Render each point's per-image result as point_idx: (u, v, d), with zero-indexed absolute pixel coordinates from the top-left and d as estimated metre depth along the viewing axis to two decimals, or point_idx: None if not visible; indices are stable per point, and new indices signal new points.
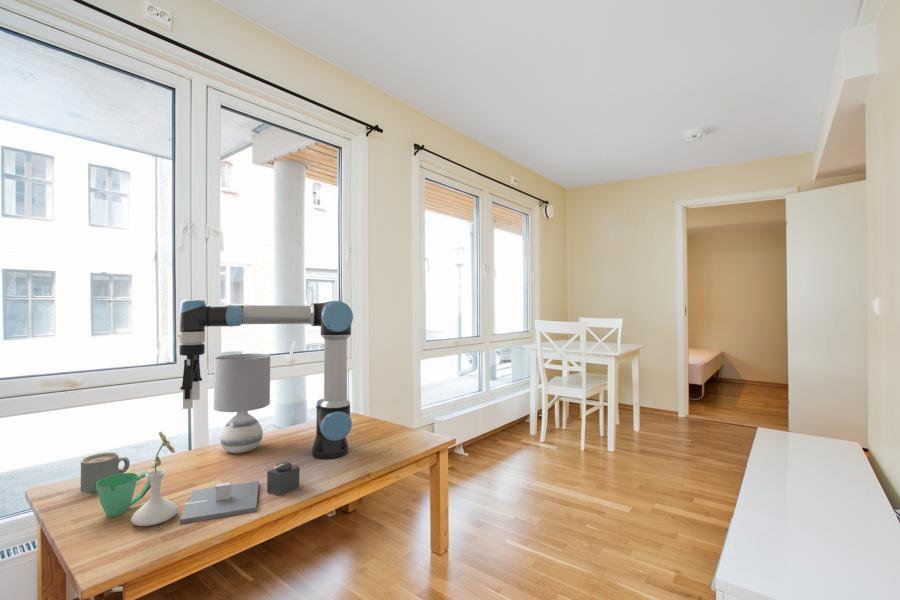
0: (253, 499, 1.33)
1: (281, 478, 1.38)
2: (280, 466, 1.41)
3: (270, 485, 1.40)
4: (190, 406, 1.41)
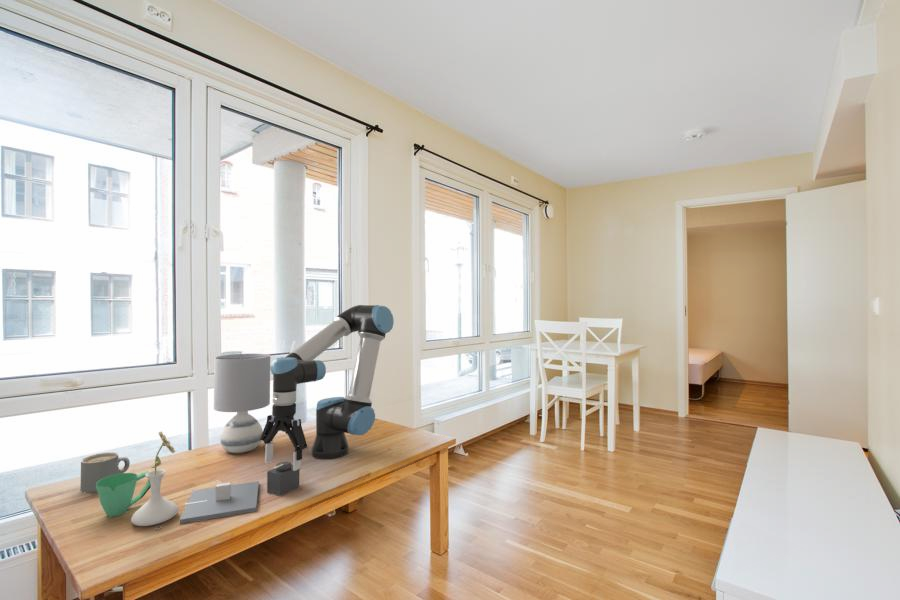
0: (253, 499, 1.33)
1: (281, 478, 1.38)
2: (280, 466, 1.41)
3: (270, 485, 1.40)
4: (299, 466, 1.40)
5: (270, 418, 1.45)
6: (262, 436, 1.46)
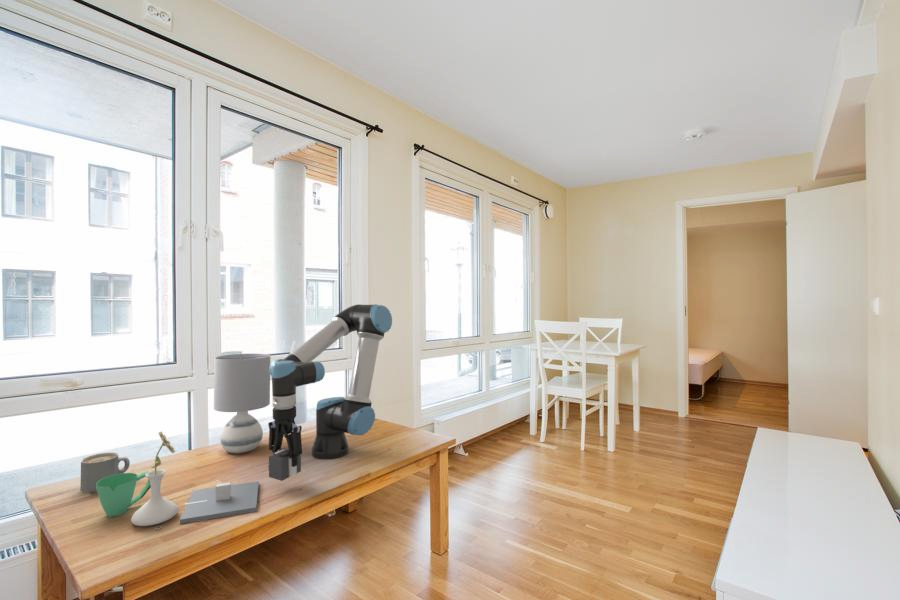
0: (253, 499, 1.33)
1: (282, 463, 1.39)
2: (281, 451, 1.42)
3: (272, 470, 1.41)
4: (295, 472, 1.43)
5: (271, 424, 1.45)
6: (270, 445, 1.45)
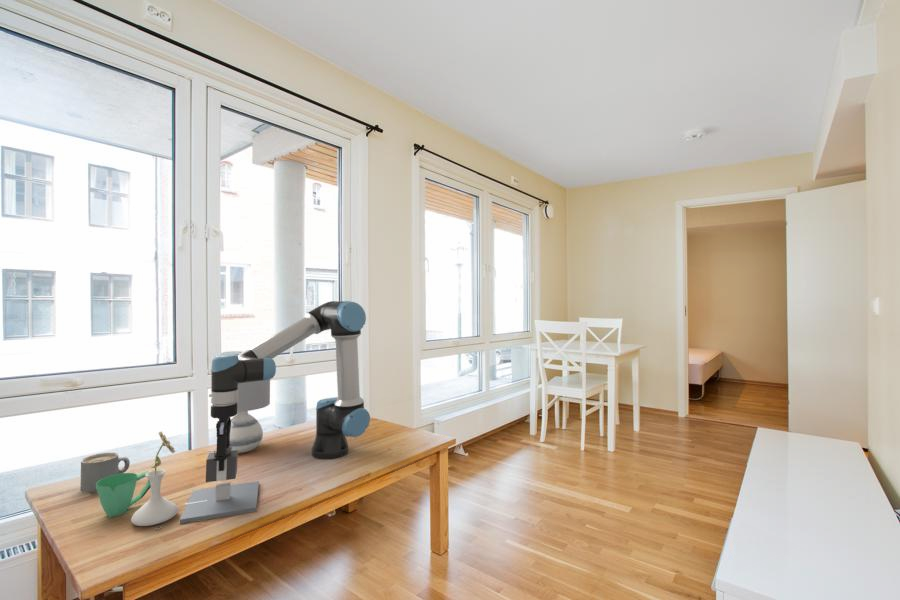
0: (253, 499, 1.33)
1: (208, 463, 1.29)
2: (215, 451, 1.32)
3: None
4: (224, 478, 1.30)
5: None
6: None
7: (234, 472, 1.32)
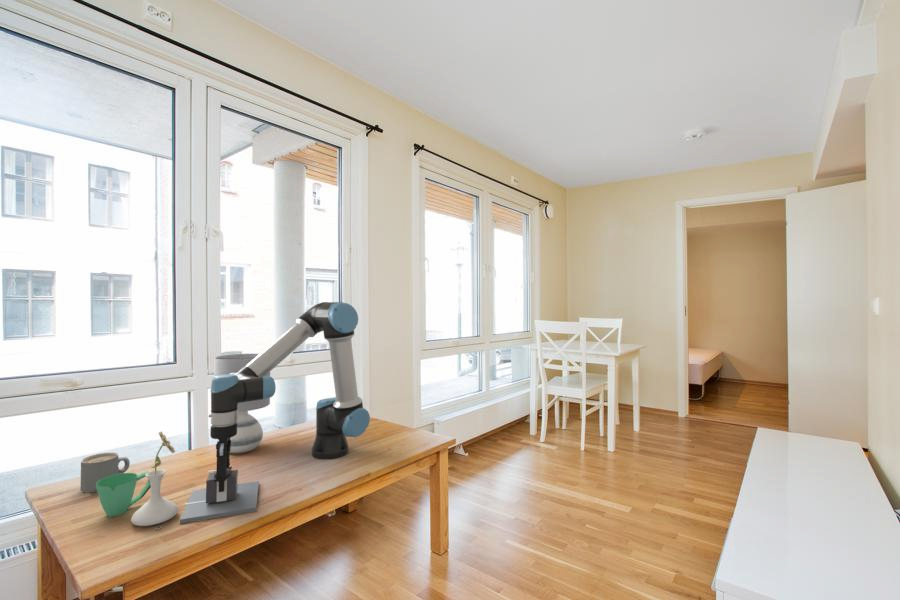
0: (253, 499, 1.33)
1: (208, 484, 1.29)
2: (215, 471, 1.32)
3: None
4: (224, 498, 1.30)
5: None
6: None
7: (234, 492, 1.32)
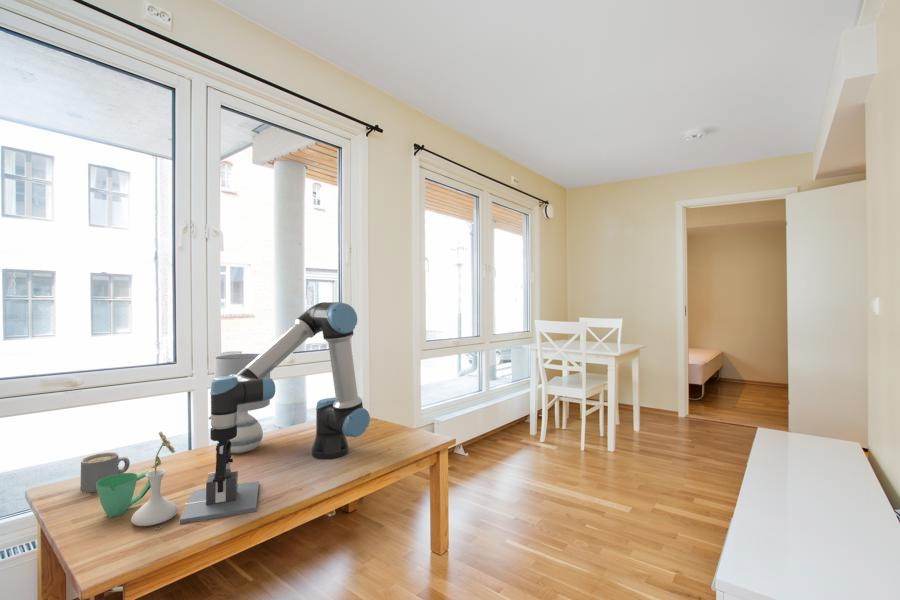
0: (253, 499, 1.33)
1: (208, 486, 1.29)
2: None
3: None
4: (223, 499, 1.27)
5: None
6: None
7: (234, 494, 1.32)
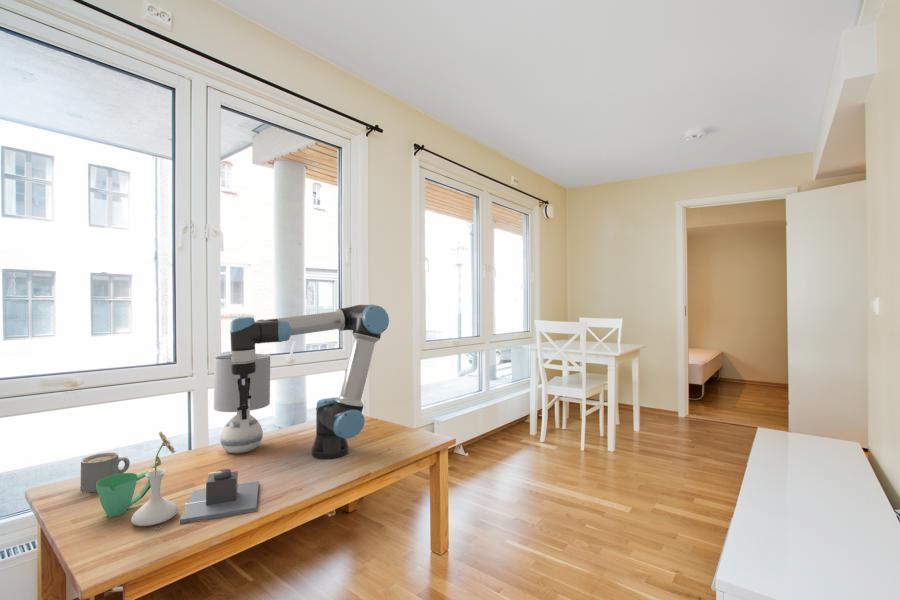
0: (253, 499, 1.33)
1: (208, 486, 1.29)
2: (215, 473, 1.32)
3: None
4: (247, 426, 1.39)
5: None
6: None
7: (234, 494, 1.32)
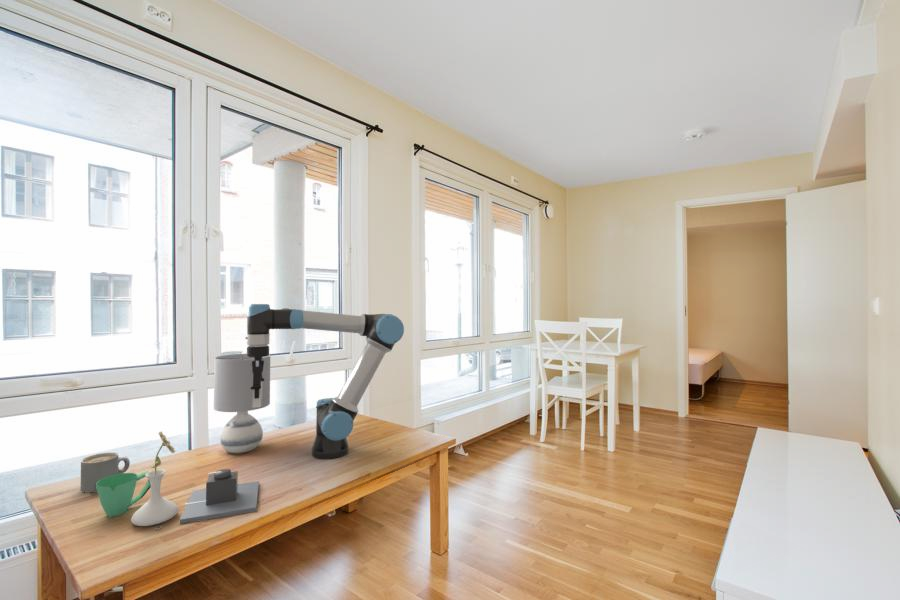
0: (253, 499, 1.33)
1: (208, 486, 1.29)
2: (215, 473, 1.32)
3: None
4: (259, 405, 1.48)
5: None
6: None
7: (234, 494, 1.32)
